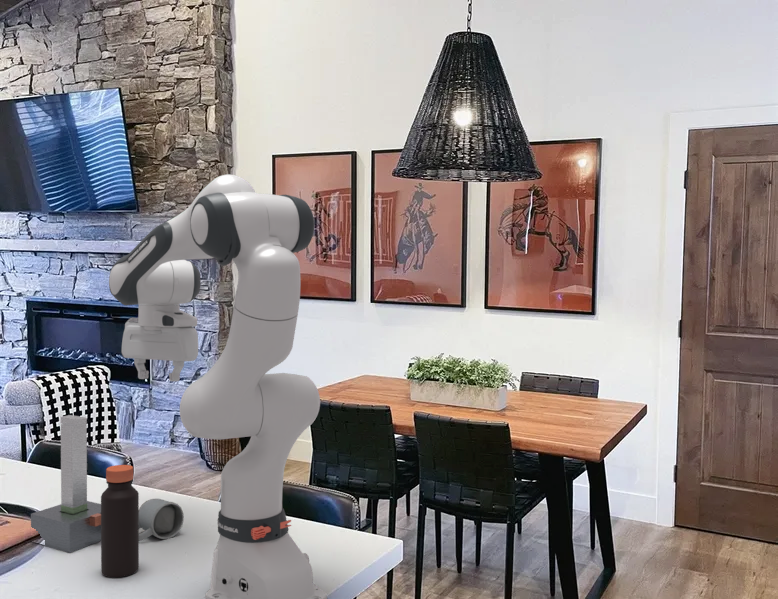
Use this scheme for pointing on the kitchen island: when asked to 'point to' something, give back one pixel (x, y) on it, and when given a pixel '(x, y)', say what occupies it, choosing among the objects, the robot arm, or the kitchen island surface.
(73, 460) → the column
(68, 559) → the kitchen island surface
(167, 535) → the ceramic mug
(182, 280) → the robot arm
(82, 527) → the stand sleeve
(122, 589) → the kitchen island surface
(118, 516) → the bottle
